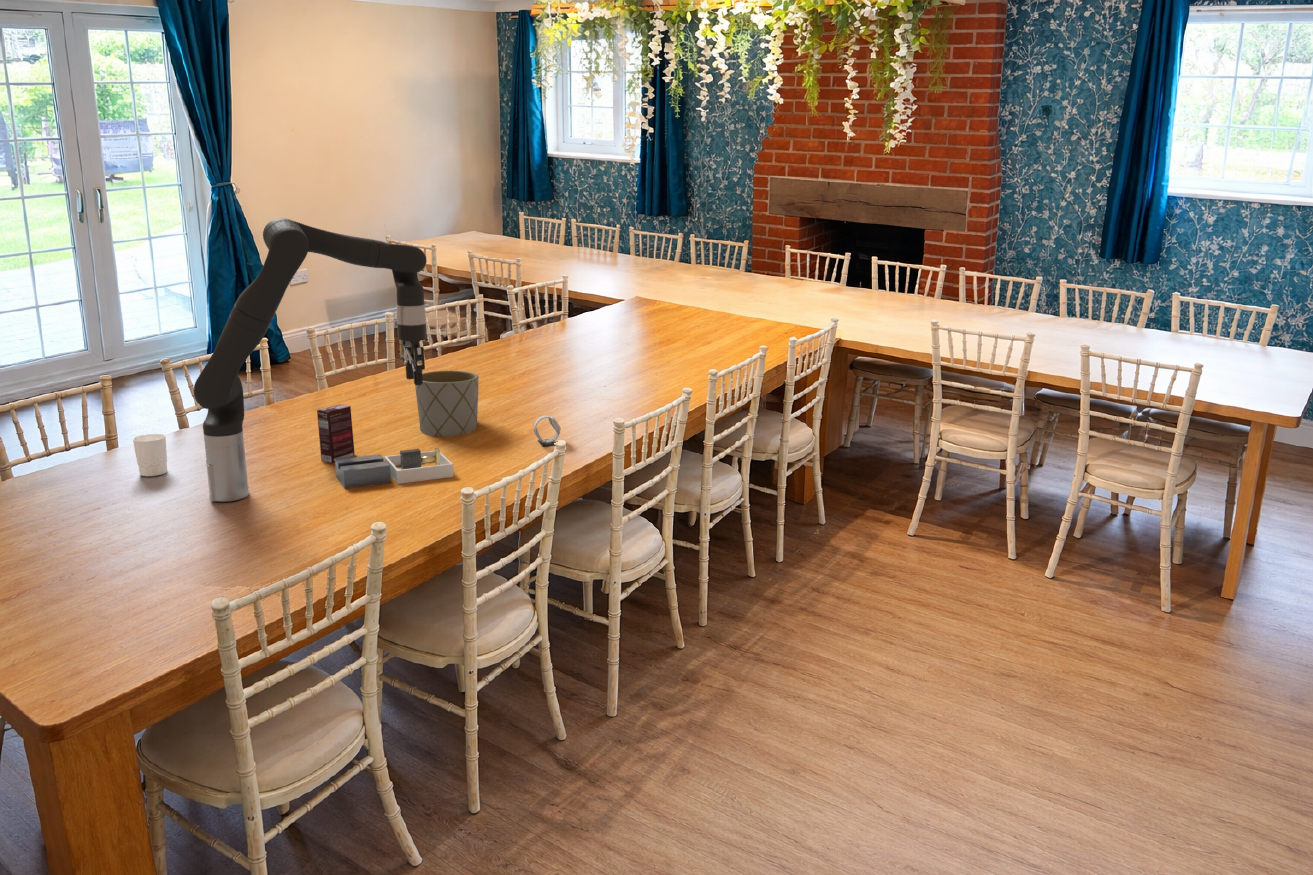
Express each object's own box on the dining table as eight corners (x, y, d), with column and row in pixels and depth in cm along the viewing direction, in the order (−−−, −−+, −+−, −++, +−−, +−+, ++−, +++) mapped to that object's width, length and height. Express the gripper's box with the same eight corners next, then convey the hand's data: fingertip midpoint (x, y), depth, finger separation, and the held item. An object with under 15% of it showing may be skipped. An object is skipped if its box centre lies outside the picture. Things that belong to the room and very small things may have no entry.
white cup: (174, 472, 273) (170, 437, 270) (144, 479, 267) (139, 442, 265) (162, 467, 278) (158, 432, 275) (132, 472, 272) (128, 437, 270)
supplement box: (343, 457, 290) (339, 403, 285) (355, 459, 287) (351, 405, 283) (320, 464, 282) (315, 409, 278) (332, 466, 280) (328, 411, 276)
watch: (563, 453, 297) (562, 417, 294) (537, 455, 294) (536, 419, 291) (557, 448, 302) (557, 412, 299) (531, 450, 299) (531, 415, 296)
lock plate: (344, 488, 261) (343, 471, 260) (336, 476, 272) (335, 459, 270) (390, 482, 267) (389, 465, 265) (381, 470, 277) (379, 454, 276)
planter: (407, 445, 302) (404, 381, 297) (431, 430, 320) (428, 369, 315) (468, 449, 299) (465, 384, 294) (488, 433, 317) (486, 371, 312)
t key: (437, 446, 277) (400, 450, 273) (440, 448, 275) (402, 452, 271) (438, 467, 279) (401, 471, 274) (441, 469, 277) (403, 474, 272)
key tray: (397, 483, 266) (396, 470, 265) (384, 468, 279) (384, 456, 278) (453, 476, 273) (453, 464, 272) (438, 462, 286) (438, 450, 285)
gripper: (432, 324, 260) (435, 385, 265) (418, 317, 273) (421, 375, 277) (403, 326, 257) (406, 388, 261) (391, 319, 269) (394, 378, 274)
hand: (414, 381), depth 269 cm, fingers open, 8 cm apart
